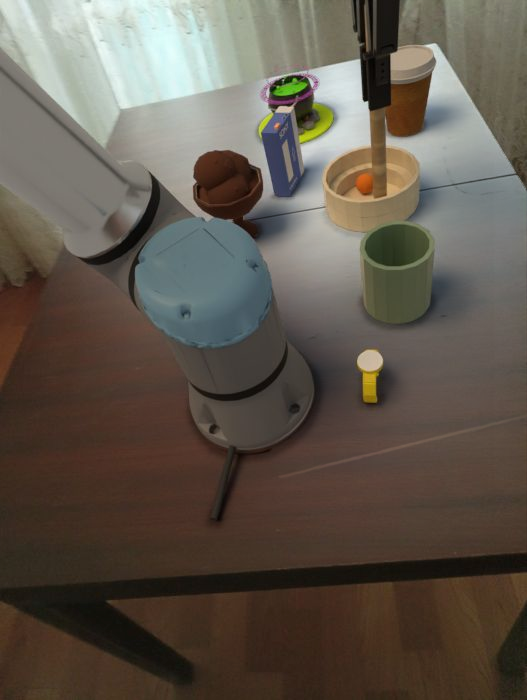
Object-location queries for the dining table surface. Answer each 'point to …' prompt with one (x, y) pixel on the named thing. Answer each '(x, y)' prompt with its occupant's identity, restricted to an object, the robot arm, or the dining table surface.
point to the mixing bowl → (362, 208)
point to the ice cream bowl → (227, 187)
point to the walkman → (283, 151)
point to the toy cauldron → (298, 104)
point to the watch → (370, 373)
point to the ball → (364, 183)
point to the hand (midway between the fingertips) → (376, 102)
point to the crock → (397, 271)
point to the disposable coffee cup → (409, 89)
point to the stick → (378, 145)
